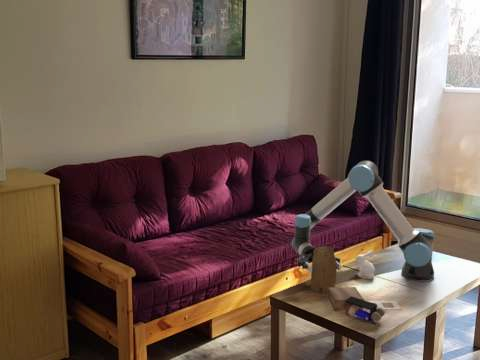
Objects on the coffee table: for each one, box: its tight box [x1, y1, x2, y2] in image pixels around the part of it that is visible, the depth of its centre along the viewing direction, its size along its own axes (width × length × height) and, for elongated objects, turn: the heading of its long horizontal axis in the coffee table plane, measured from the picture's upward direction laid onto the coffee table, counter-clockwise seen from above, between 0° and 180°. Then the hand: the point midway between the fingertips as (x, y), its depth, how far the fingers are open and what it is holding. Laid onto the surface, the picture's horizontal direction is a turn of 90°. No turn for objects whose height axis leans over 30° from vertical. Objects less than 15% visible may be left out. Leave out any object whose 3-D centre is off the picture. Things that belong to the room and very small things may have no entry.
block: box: [310, 245, 338, 294], centre depth 260 cm, size 11×8×20 cm
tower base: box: [327, 286, 364, 312], centre depth 247 cm, size 12×13×5 cm
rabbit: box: [355, 249, 376, 280], centre depth 278 cm, size 12×9×12 cm
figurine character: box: [344, 296, 386, 325], centre depth 234 cm, size 7×8×15 cm
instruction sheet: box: [365, 300, 402, 311], centre depth 247 cm, size 15×8×1 cm, turn 94°
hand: (325, 268), depth 258 cm, fingers open, 13 cm apart
